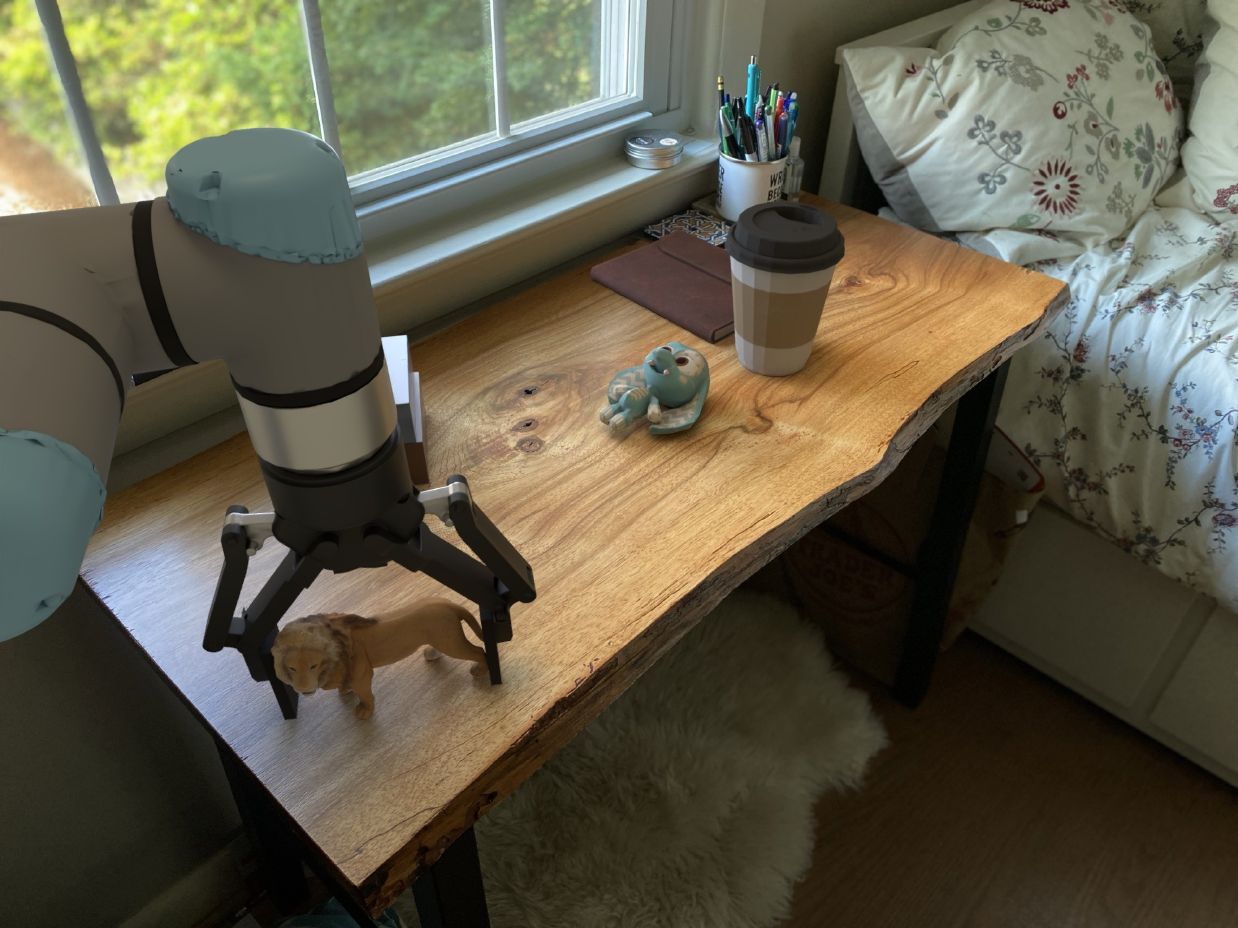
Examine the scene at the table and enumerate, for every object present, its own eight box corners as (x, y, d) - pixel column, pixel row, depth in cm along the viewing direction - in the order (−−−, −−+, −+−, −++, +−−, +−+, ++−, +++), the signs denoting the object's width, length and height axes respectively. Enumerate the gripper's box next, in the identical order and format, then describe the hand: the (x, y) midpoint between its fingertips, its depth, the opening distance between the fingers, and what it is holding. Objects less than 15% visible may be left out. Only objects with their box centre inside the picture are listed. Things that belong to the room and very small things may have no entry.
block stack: (322, 496, 79) (301, 415, 74) (328, 422, 88) (309, 344, 82) (429, 483, 81) (415, 402, 75) (425, 411, 89) (412, 334, 84)
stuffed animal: (562, 364, 85) (659, 302, 90) (576, 421, 90) (667, 359, 95) (638, 417, 79) (738, 346, 83) (649, 474, 84) (743, 405, 88)
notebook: (710, 345, 98) (712, 328, 97) (590, 280, 110) (590, 264, 109) (802, 298, 106) (805, 283, 105) (681, 242, 118) (681, 227, 116)
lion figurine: (310, 763, 59) (277, 672, 53) (284, 705, 62) (251, 613, 57) (516, 663, 65) (506, 572, 60) (482, 615, 69) (470, 525, 63)
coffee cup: (847, 353, 97) (871, 217, 88) (790, 401, 90) (809, 259, 81) (755, 319, 103) (768, 187, 93) (694, 362, 96) (702, 224, 86)
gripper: (549, 368, 54) (568, 615, 68) (97, 423, 51) (211, 672, 64) (569, 445, 49) (585, 699, 62) (61, 512, 45) (194, 766, 58)
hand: (395, 686), depth 63 cm, fingers closed on lion figurine, 13 cm apart
